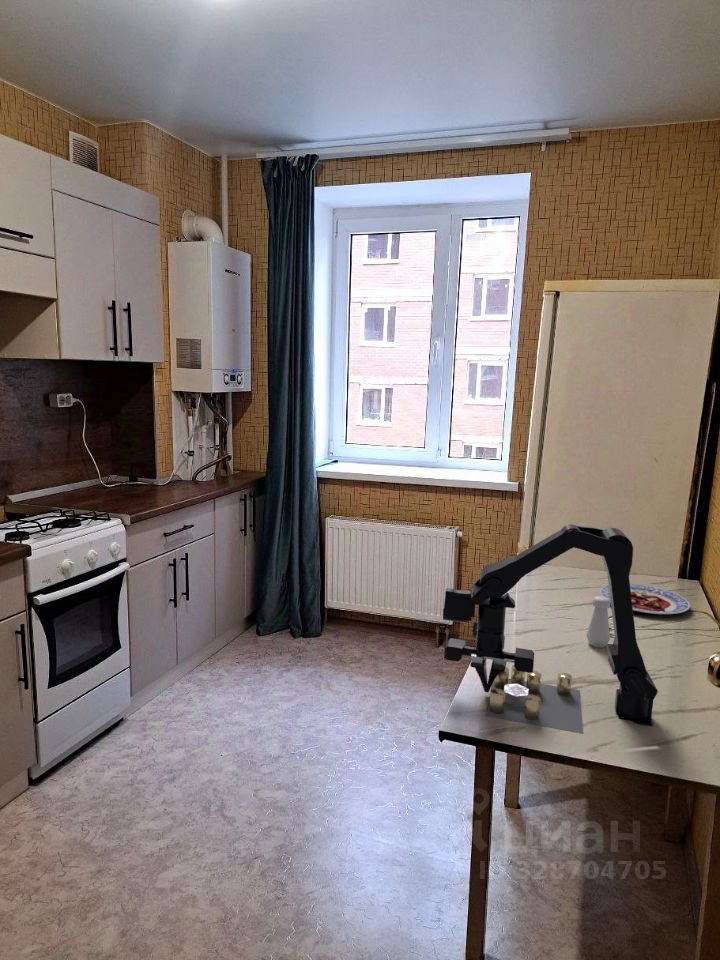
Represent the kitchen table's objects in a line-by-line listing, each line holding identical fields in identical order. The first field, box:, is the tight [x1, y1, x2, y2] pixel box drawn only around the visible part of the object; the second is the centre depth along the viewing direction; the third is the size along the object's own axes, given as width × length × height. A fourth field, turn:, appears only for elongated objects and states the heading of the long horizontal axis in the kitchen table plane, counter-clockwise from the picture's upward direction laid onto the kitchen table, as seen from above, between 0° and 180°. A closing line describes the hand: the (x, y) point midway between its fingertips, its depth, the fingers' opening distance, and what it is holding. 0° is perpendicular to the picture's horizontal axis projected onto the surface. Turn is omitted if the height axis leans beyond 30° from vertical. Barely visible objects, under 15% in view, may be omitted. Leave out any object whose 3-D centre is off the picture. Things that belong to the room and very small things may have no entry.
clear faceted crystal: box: [504, 684, 528, 707], centre depth 135 cm, size 6×5×2 cm
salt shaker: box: [586, 595, 611, 649], centre depth 164 cm, size 6×6×13 cm
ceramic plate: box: [599, 583, 691, 615], centre depth 196 cm, size 26×26×3 cm
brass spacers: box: [489, 664, 573, 720], centre depth 134 cm, size 16×16×4 cm
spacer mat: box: [485, 677, 584, 735], centre depth 134 cm, size 19×18×1 cm
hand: (486, 691), depth 136 cm, fingers closed
